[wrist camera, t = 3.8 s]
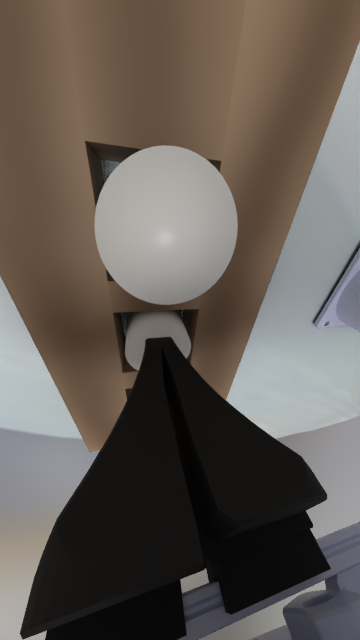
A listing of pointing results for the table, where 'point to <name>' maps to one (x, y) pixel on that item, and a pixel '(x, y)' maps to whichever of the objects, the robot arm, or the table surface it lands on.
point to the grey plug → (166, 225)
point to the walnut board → (144, 132)
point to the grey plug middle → (153, 332)
